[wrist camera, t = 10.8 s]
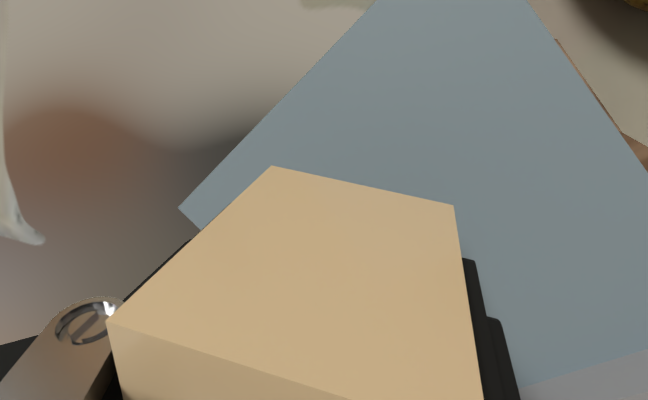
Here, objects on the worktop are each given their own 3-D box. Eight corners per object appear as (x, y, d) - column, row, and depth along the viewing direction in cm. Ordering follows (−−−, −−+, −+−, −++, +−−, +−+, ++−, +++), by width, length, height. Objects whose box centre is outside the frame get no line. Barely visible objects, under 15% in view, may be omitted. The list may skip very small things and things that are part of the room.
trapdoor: (753, 347, 16) (853, 446, 13) (451, 430, 24) (456, 508, 20) (456, -70, 13) (470, -109, 9) (206, 185, 20) (155, 224, 16)
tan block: (453, 205, 9) (491, 444, 4) (408, 339, 12) (394, 598, 6) (271, 165, 10) (104, 320, 5) (263, 298, 12) (146, 498, 7)
